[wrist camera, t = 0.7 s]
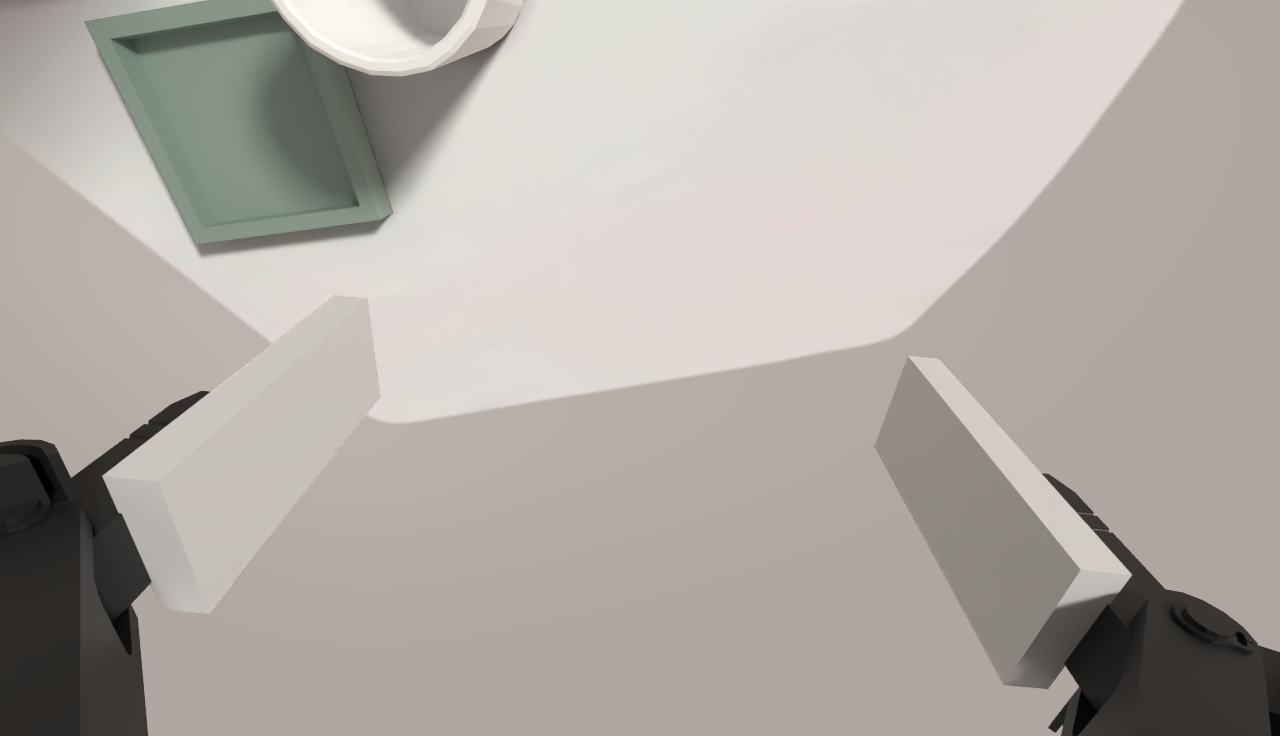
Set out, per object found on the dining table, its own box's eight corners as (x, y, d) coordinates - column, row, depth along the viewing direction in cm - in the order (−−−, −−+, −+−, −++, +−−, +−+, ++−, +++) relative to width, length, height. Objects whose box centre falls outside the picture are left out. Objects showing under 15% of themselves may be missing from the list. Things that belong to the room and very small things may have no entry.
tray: (114, 23, 35) (84, 21, 33) (319, -12, 34) (299, -16, 32) (216, 236, 41) (195, 244, 39) (392, 212, 40) (380, 219, 38)
